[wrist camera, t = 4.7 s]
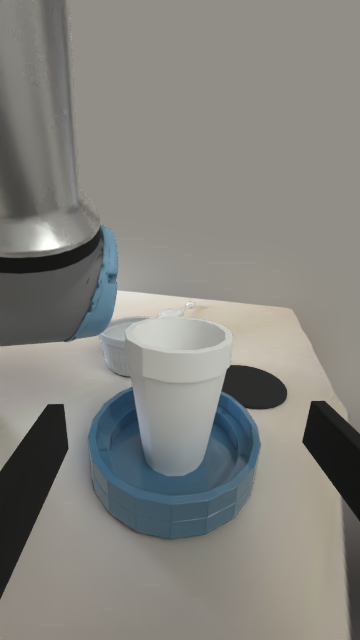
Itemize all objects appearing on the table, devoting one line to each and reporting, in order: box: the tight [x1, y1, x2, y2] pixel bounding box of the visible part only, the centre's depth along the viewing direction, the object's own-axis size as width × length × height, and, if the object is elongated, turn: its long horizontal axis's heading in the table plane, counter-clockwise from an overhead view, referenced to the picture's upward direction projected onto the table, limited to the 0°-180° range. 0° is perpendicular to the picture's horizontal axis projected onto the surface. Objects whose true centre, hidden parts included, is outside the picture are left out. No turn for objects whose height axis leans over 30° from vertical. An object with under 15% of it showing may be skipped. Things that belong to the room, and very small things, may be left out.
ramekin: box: [99, 317, 155, 377], centre depth 44 cm, size 13×13×7 cm
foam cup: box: [125, 317, 233, 476], centre depth 24 cm, size 10×9×13 cm
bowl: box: [88, 387, 261, 539], centre depth 25 cm, size 16×16×4 cm
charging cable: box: [158, 301, 195, 317], centre depth 74 cm, size 5×32×3 cm, turn 163°
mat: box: [221, 365, 287, 409], centre depth 39 cm, size 12×12×1 cm
